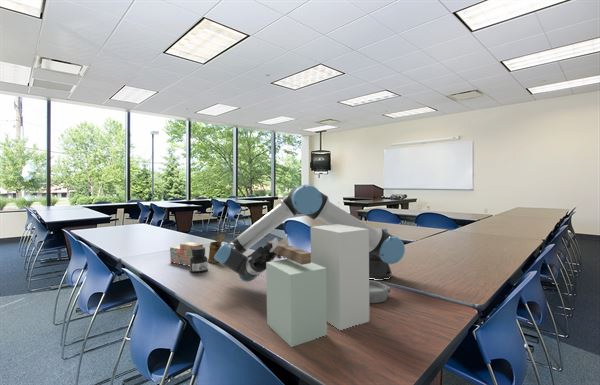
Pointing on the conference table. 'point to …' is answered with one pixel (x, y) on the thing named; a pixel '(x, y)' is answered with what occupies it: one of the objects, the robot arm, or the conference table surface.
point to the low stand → (296, 300)
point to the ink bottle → (198, 260)
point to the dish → (378, 292)
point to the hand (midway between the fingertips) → (282, 241)
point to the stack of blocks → (183, 252)
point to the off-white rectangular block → (343, 272)
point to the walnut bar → (292, 253)
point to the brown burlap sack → (215, 247)
